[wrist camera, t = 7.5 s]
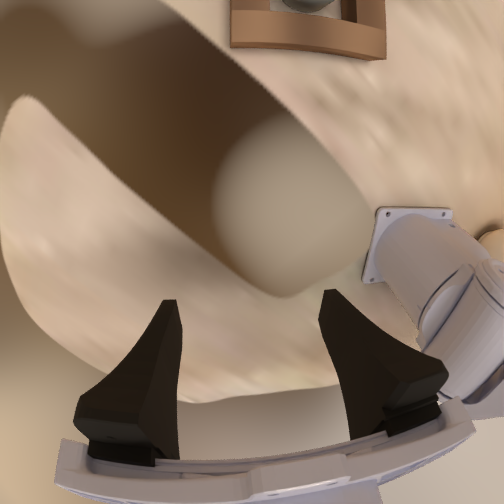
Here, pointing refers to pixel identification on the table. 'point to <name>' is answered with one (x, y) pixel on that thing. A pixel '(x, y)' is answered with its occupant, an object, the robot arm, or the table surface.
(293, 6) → the peg
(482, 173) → the table surface
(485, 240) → the lidded jar
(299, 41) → the socket block
